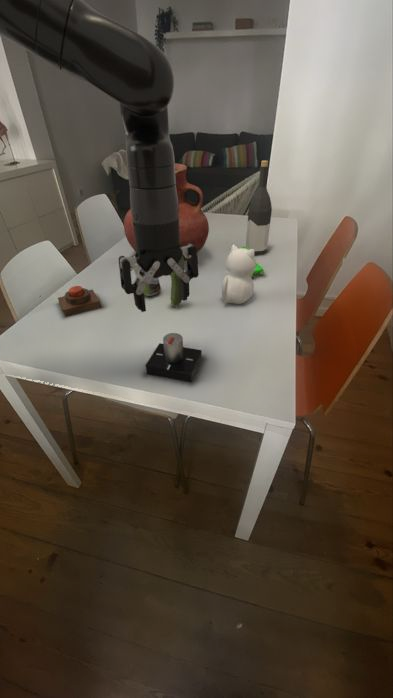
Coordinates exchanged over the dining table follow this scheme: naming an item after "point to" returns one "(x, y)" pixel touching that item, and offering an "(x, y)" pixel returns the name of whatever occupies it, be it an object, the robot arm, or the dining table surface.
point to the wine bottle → (259, 215)
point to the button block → (79, 302)
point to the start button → (76, 291)
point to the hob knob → (173, 347)
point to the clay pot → (181, 215)
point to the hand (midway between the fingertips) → (163, 304)
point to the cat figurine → (239, 276)
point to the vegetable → (176, 285)
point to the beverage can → (152, 286)
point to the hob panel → (174, 364)
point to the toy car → (258, 268)
